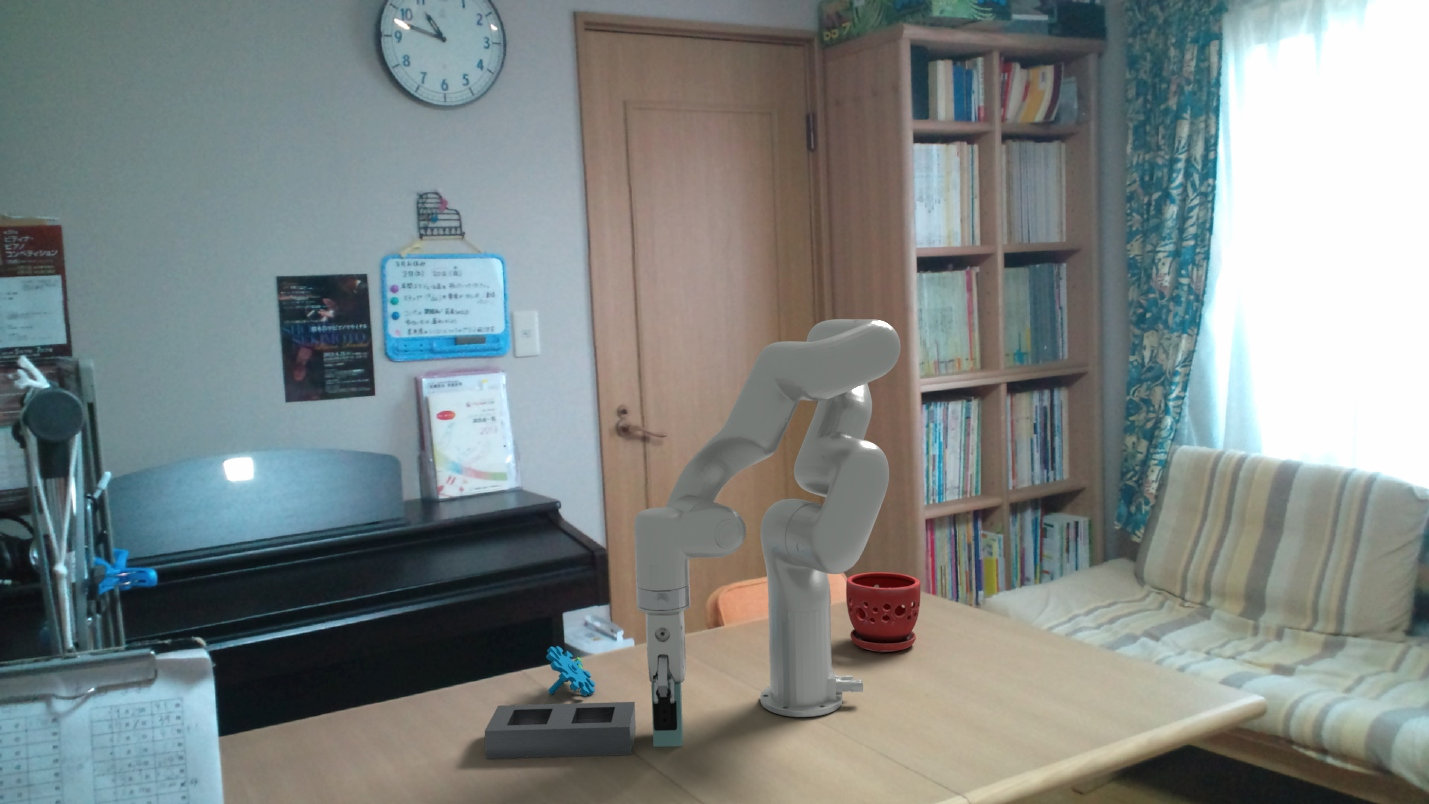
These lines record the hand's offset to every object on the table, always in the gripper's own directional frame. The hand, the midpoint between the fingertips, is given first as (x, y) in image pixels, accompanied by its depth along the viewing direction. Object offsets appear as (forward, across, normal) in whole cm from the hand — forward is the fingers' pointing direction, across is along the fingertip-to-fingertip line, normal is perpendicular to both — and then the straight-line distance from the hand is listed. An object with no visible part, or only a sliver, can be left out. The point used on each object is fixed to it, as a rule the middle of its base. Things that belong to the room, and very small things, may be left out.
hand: (667, 716), depth 146 cm
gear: (+4, +20, +16) cm, 26 cm away
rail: (+3, 0, +15) cm, 15 cm away
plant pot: (+3, +39, -37) cm, 54 cm away
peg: (+3, 0, 0) cm, 3 cm away
